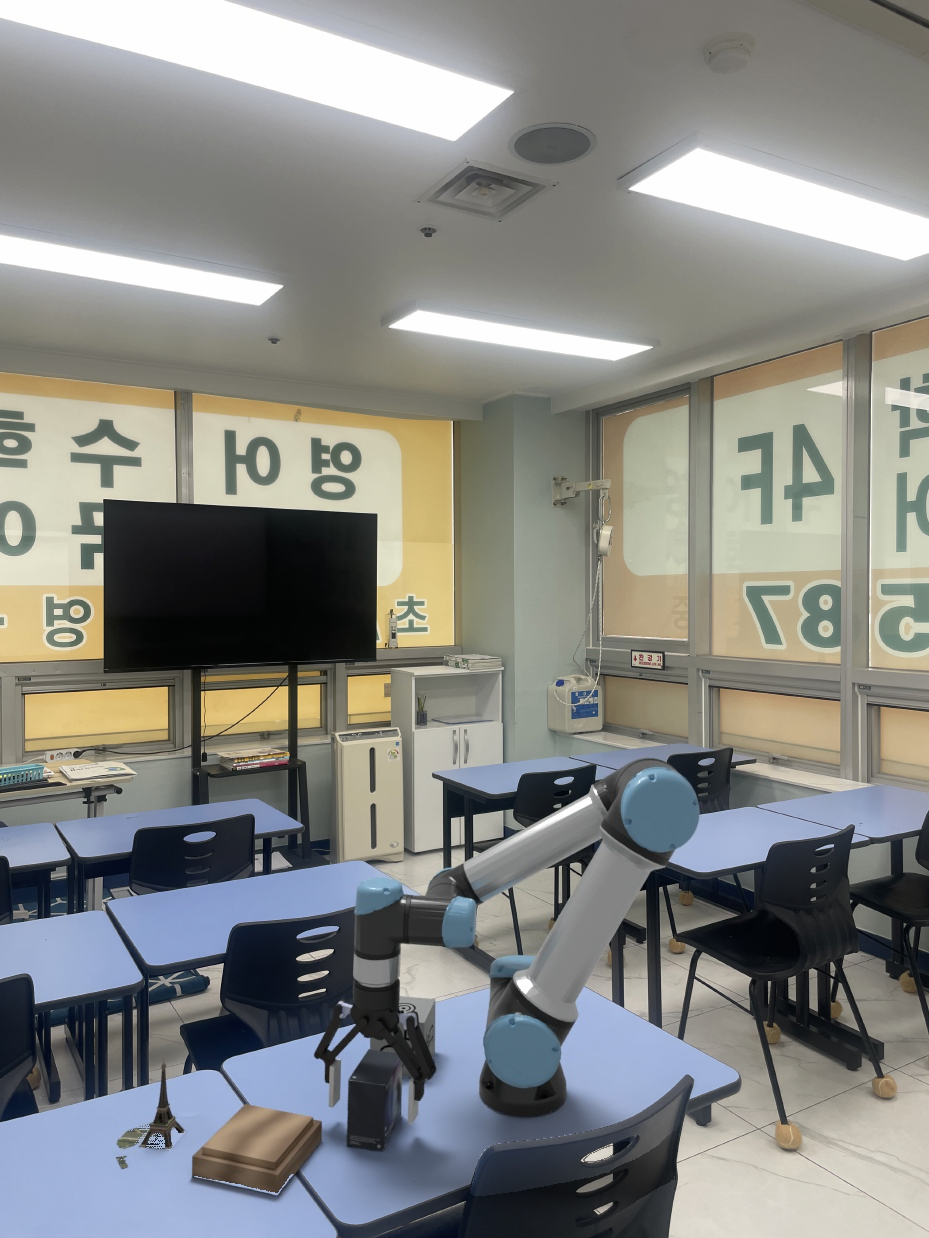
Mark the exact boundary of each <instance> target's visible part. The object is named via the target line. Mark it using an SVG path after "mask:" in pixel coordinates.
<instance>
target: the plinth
mask: <svg viewBox="0 0 929 1238" xmlns="http://www.w3.org/2000/svg"><path fill="white" fill-rule="evenodd" d="M322 1133H323V1122H322V1120H318V1119H314V1116H309V1115H306V1114H304V1115H303V1114H299V1113H293V1112H288V1111H283V1110H278V1109H274V1108H273V1109H272V1108H267V1107H263V1106H257V1105H252V1104H248V1103H245V1104H244V1105H242V1106H241V1108H240V1109H239V1110H237V1111H236V1113H234V1114H233V1116H232V1117H230V1118H229V1120H227V1121H226V1122H225V1123H224V1124H223V1125H222V1126H221V1127H220V1128H219V1130H217V1132H215V1133H214V1134H213V1135H212V1136H211V1137H210V1138H209V1139H208V1140H207V1141H206V1142H205V1143H204V1144H203V1145H202V1146H201V1147H200V1148H199V1149H198V1150H197V1151H196V1152H195V1153H193V1154H192V1156H191V1157H192V1158H191V1177H192V1176H198V1177H202V1178H206V1179H212V1180H218V1181H225V1182H229V1183H235V1184H241V1185H244V1186H247V1187H251V1188H256V1189H257V1188H258V1189H260V1190H266V1191H268V1192H269V1191H270V1192H275V1193H278V1192H279V1190H280V1189H281V1188H282V1186H283V1185H284V1184H285V1182H286V1181H287V1179H288V1178H289V1176H290V1175H291V1174H294V1176H295V1174H297V1172H298V1171H299V1170H300V1168H301V1167H302V1166H303V1164H304V1163H305V1162H306V1161H307V1160H308V1158H309V1157H310V1156H311V1154H313V1152H314V1151H315V1149H316V1148H317V1147H318V1146H319V1144H320V1143H321V1142H322V1141H323V1140H322V1139H323V1135H322Z"/></svg>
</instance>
